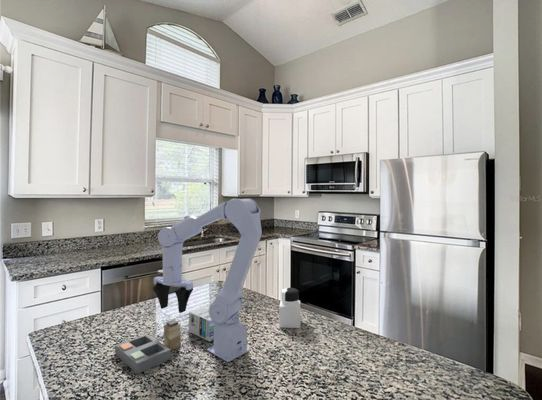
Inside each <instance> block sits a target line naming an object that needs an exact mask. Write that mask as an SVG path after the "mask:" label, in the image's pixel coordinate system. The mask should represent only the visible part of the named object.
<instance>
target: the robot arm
mask: <svg viewBox="0 0 542 400" xmlns="http://www.w3.org/2000/svg"><path fill="white" fill-rule="evenodd" d="M260 217H261V208H260V207H259V205H258V203H257V202H256V201H255V200H254V199H252V198H249V197H248V198H241V199H240V198H231V199H229V200H228V201H224V202H221V203H220V204H218V205H216V206H215V207H213V208H211V209H209V210H208V211H206V212H204V213H203V214H201V215H199V216H198V217H197V216H196V215H185V216H184V217H183V218H184V219H182V220H181V221H178V222H173V223H172V226H165V227H163V228H162V229H160V230H159V232H158V235H157V240H158V242H159V244H160V245H161V246H162V248H161V249H162V250H161V251H162V253H161V254H162V276H155V277H153V285H155V286H152V290H153V291H154V293H155V295H156V296H157V299H158V302H159V303H158V304H159V305H160V309H161V310H162V309H165V308H167V307H168V306H169V292H170V288H171V287H174V288H178V289H177V290H174V293H175V295H176V298H177V307H178V308H177V309H178V313H180V314H182V313H184V312H186V311H187V310H186V309H187V305H188V302H189V299H190V296H191V294H192V292H193V290H194V282H193V281H190V280H187V279H185V277H184V276H183V248H184V242H185V241H187V240H188V239H190V238H193V237H195V236H196V235H199V234H201V232H202V230H203V228H204V227H205V226H207V225H210V224H212V223H214V222H216V221H219V220H222V219H223V220H226V219H227V220H228V222H230V223H231V224H232V225H233V226H234V227H235V228H236V229H237V231H238V232H239V234H240V239H239V241H238V244H237V247H236V249H235V252H234V255H233V259H232V260H231V261H232V262H231V263H230V266H229V270H228V272H227V275H226V278H225V281H224V284H223V287H222V288H221V289H220V290H219V292H218V293H217V295H216V297H215V299H214V300H213V302H211V304H209V305H210V307H209V316H210V318H211V319H212V321H213V323H214V340H213V345H212V346H210V347H208V348H207V351H208V352H210V353H211V354H213V355H215V356H217V357H218V358H220V359H221V360H223V361H225V362H227V363H229V362H231V361H233V360H235V359H237V358H238V357H241V356H242V355H244V354H246V353H249V351H250V348H248V331H247V328H246V326H245V325H244V324H243V323H242V322H241V321H240V311H241V310H242V308H243V296H244V291H243V288H244V287H243V286H244V284H245V281H246V279H247V275H248V274H249V271H250V268H251V266H252V263H253V259H254V257H255V254H256V251H257V248H258V247H259V243H260V240H261V238H262V235H263V234H262V233H263V232H262V231H263V230H262V224H261V222H262V221H261V218H260Z"/></svg>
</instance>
